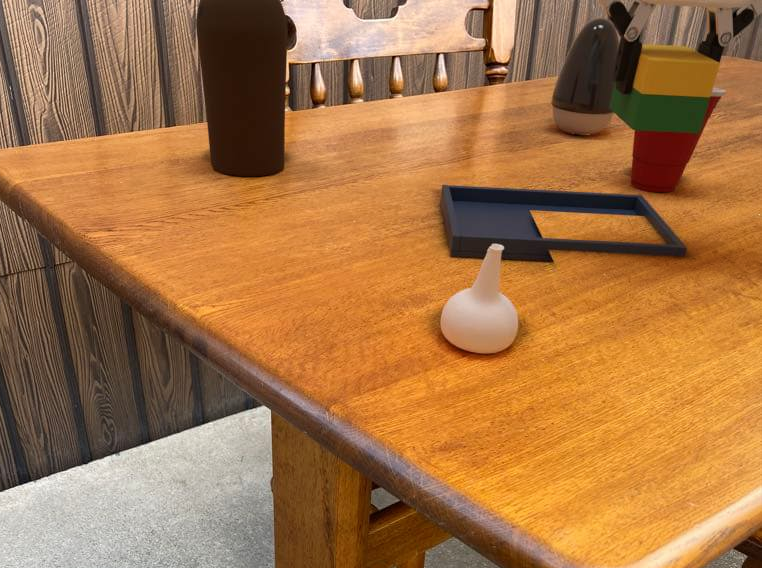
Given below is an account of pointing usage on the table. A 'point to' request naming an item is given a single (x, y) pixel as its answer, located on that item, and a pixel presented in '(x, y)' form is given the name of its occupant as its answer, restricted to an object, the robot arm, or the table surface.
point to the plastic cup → (665, 154)
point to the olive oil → (244, 83)
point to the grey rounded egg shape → (587, 80)
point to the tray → (519, 230)
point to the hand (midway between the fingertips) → (659, 91)
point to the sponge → (667, 90)
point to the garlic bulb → (481, 311)
